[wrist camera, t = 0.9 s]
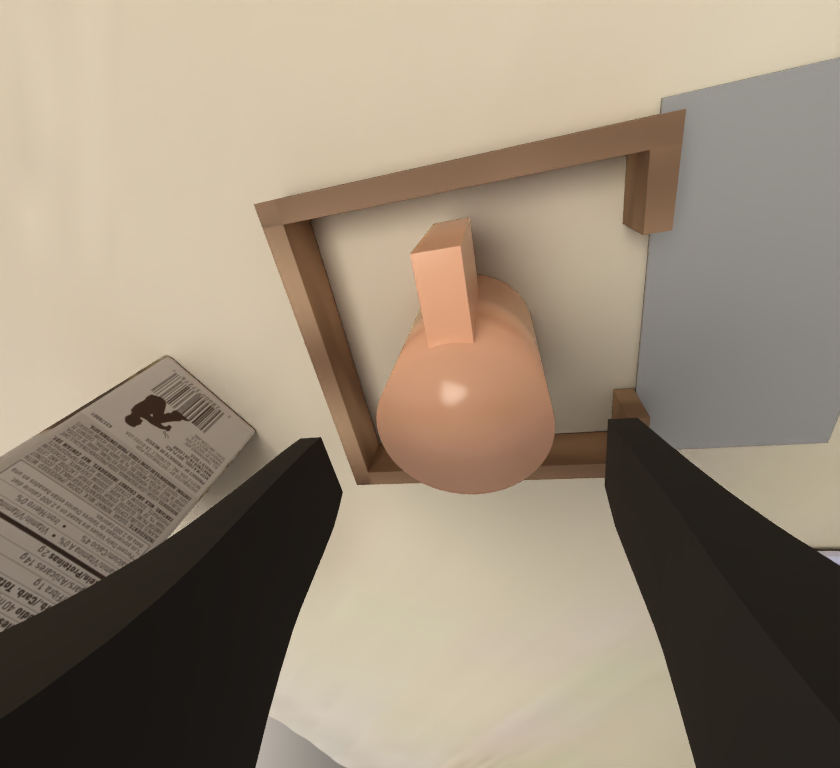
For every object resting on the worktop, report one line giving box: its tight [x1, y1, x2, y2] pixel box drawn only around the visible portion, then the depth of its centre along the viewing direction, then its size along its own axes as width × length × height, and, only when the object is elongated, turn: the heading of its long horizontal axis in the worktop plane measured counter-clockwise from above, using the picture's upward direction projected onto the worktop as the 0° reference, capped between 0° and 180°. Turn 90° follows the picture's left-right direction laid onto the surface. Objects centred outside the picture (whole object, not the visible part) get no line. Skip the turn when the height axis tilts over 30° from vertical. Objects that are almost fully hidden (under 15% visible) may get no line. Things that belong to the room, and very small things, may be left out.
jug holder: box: [254, 109, 686, 485], centre depth 16 cm, size 13×13×2 cm
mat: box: [635, 57, 840, 449], centre depth 14 cm, size 14×8×1 cm, turn 11°
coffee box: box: [0, 356, 255, 632], centre depth 16 cm, size 9×6×16 cm
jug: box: [377, 217, 555, 494], centre depth 13 cm, size 7×5×7 cm
